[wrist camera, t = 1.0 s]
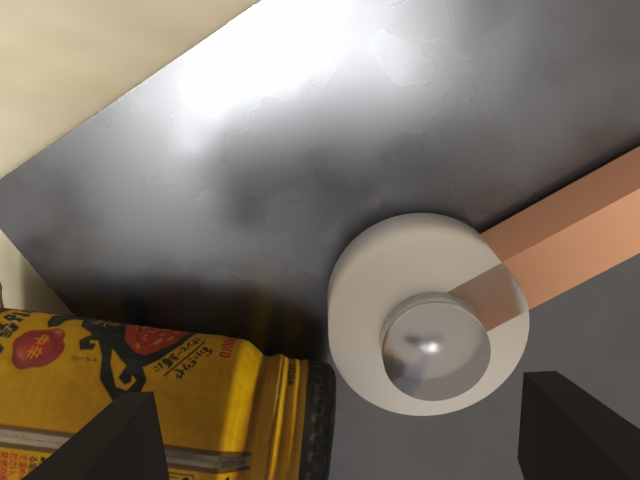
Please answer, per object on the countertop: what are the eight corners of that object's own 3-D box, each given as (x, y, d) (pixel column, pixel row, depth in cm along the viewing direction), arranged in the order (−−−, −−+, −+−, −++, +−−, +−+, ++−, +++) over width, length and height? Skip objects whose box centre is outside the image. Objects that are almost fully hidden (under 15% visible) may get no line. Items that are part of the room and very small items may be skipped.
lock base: (774, 354, 23) (912, 453, 17) (316, 566, 27) (316, 700, 21) (554, -196, 16) (665, -297, 11) (-3, 185, 20) (-115, 242, 15)
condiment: (-8, 251, 20) (344, 298, 20) (19, 433, 24) (313, 471, 24) (-182, 404, 13) (340, 472, 13) (-105, 619, 17) (299, 669, 17)
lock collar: (382, 400, 21) (390, 444, 19) (293, 271, 19) (290, 303, 17) (703, 236, 19) (755, 264, 17) (636, 73, 17) (683, 80, 15)
